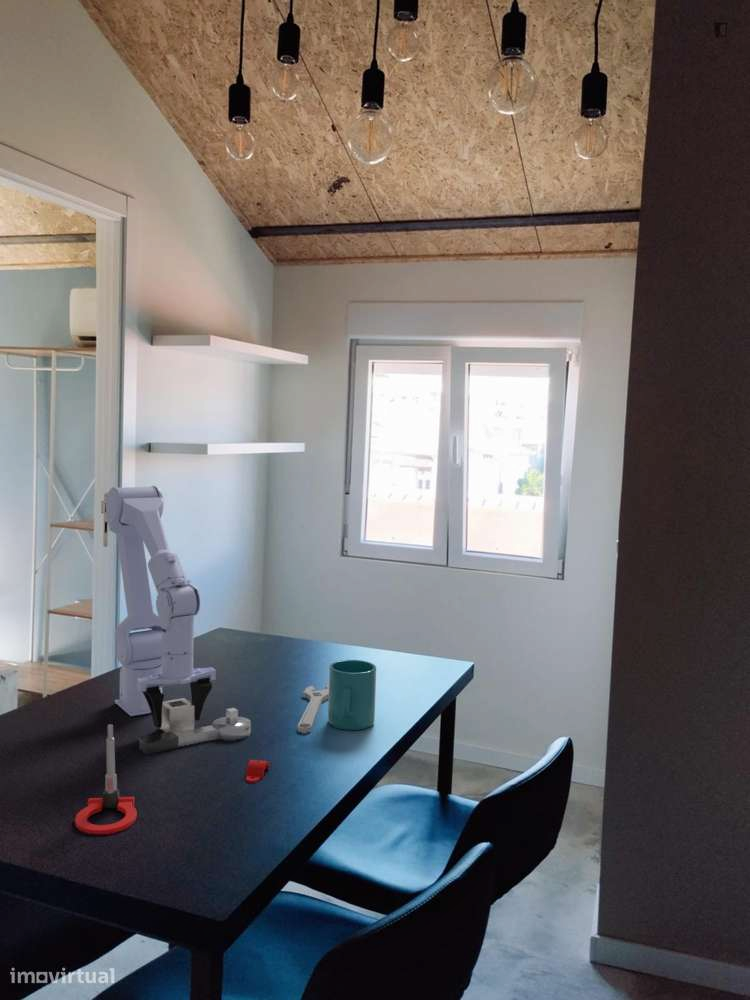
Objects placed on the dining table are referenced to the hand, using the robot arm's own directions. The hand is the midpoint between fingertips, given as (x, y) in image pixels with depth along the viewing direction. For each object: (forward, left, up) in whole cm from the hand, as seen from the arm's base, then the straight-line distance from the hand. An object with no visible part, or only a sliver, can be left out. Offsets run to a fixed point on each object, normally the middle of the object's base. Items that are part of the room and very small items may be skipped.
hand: (176, 722), depth 157 cm
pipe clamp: (+24, +4, -2) cm, 25 cm away
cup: (+14, +29, -2) cm, 32 cm away
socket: (0, 0, -1) cm, 1 cm away
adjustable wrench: (+3, +27, -2) cm, 27 cm away
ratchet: (+6, +1, -2) cm, 7 cm away
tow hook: (+27, -22, -2) cm, 35 cm away
